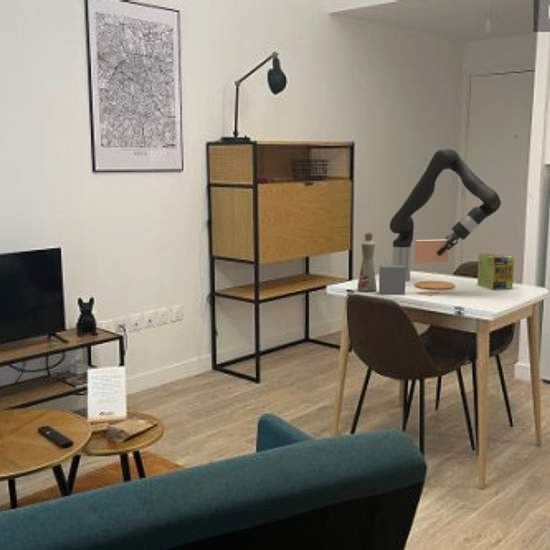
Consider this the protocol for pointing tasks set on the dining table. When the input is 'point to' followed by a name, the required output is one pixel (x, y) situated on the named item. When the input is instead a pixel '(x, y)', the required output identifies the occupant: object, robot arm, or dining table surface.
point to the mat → (430, 293)
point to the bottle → (367, 266)
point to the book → (430, 251)
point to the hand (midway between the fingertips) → (437, 253)
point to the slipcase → (392, 279)
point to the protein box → (495, 271)
